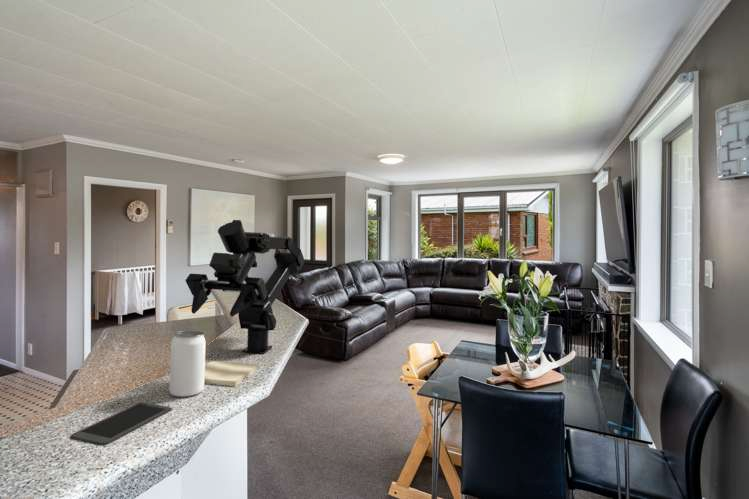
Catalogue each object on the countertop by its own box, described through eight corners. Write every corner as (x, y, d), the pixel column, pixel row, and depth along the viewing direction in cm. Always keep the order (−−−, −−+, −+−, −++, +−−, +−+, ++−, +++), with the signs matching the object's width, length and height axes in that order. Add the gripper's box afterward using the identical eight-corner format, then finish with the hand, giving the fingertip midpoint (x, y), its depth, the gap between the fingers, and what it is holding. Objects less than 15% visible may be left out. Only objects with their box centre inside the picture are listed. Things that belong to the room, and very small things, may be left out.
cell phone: (67, 440, 62) (67, 435, 62) (141, 405, 75) (141, 401, 75) (104, 448, 60) (104, 443, 60) (174, 411, 73) (174, 407, 73)
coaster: (212, 364, 99) (213, 360, 99) (258, 368, 98) (258, 364, 97) (183, 381, 87) (183, 376, 87) (235, 386, 86) (235, 381, 86)
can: (190, 399, 78) (192, 338, 78) (162, 395, 79) (163, 335, 79) (210, 387, 84) (212, 331, 84) (183, 384, 86) (185, 329, 85)
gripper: (193, 240, 97) (159, 286, 86) (266, 244, 95) (241, 291, 83) (207, 273, 104) (178, 319, 93) (276, 277, 102) (254, 325, 90)
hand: (211, 313), depth 90 cm, fingers open, 9 cm apart
